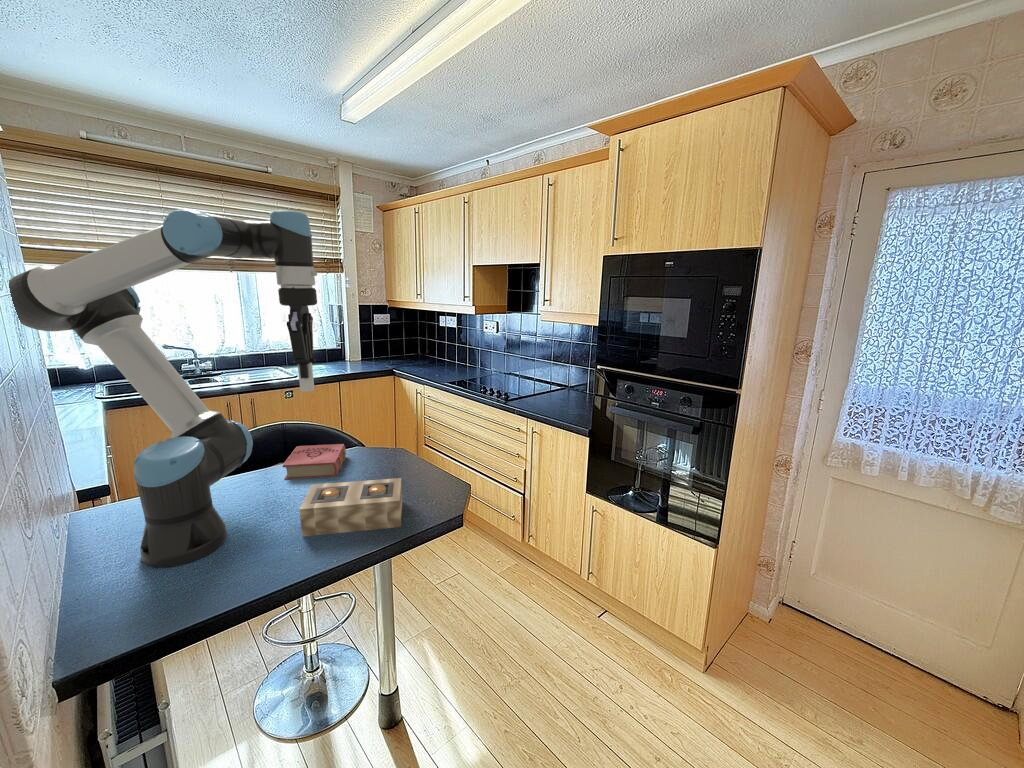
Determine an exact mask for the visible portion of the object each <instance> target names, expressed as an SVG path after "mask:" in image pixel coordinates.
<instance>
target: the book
mask: <svg viewBox="0 0 1024 768" xmlns="http://www.w3.org/2000/svg"><path fill="white" fill-rule="evenodd" d="M346 450H347V449H346V446H345V444H344V443H336V444H317V445H313V444H312V445H299V446H296V447H295V448H294V449H293V451H292V452H291V454H290V455H289V456H288V457H287V458H286V460H285V461H284V462H283V464H282V468H285V469H286V475H285V477H284V480H298V479H299V480H301V479H315V478H318V479H319V478H331V477H332V478H333V477H335V478H336V477H337V476H338V474H339V472H340V471H341V470H342V466H343V464H344V463H345V460H346V456H347V455H346V454H347V451H346Z"/></svg>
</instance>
